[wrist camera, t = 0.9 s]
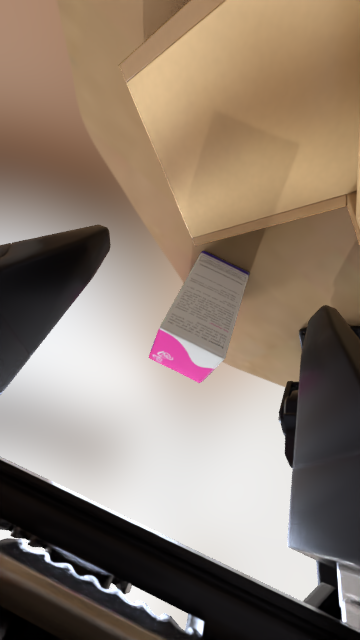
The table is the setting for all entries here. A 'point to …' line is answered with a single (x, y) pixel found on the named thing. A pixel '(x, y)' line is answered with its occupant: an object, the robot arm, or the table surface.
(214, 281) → the supplement box
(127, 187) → the table surface
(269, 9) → the shelf
